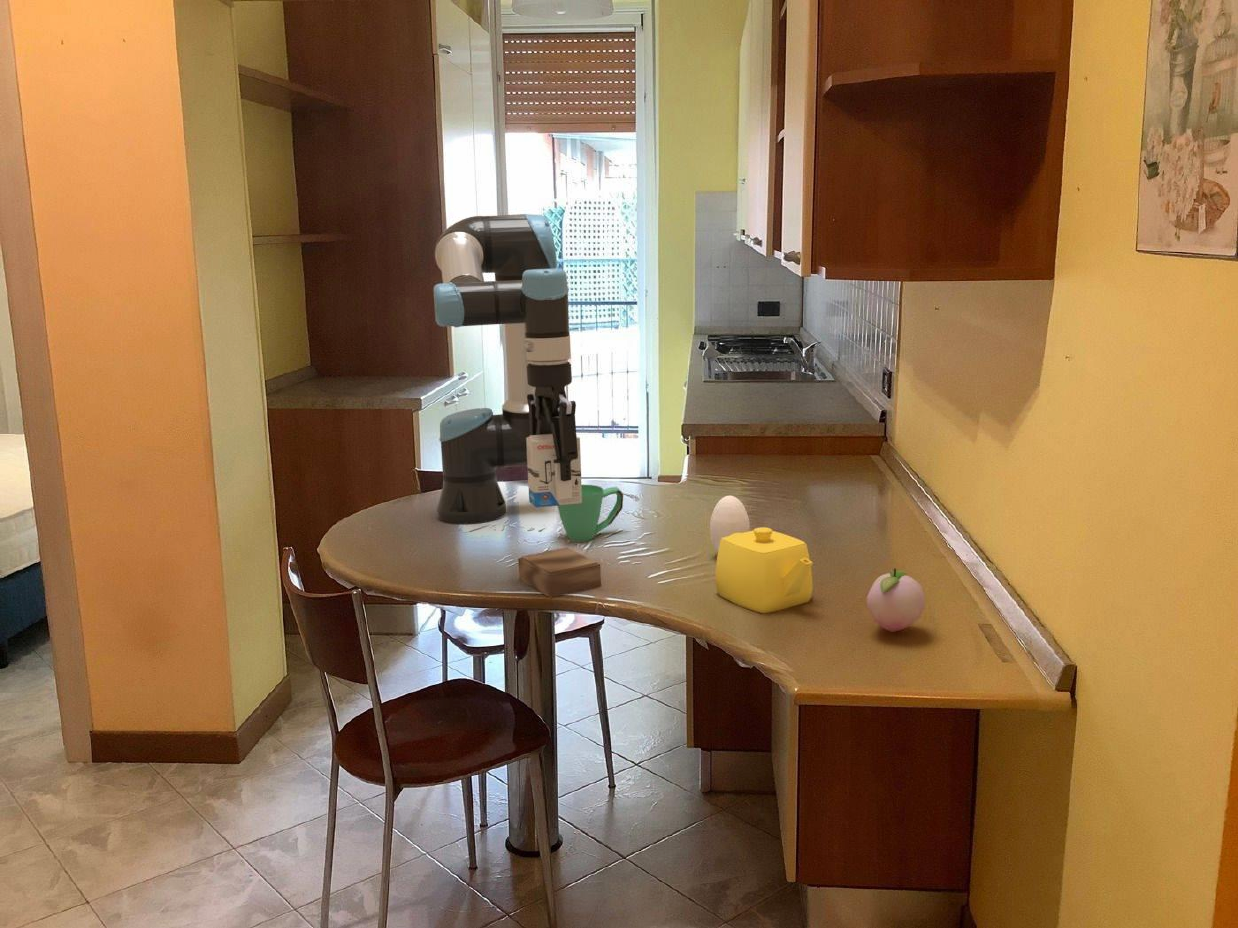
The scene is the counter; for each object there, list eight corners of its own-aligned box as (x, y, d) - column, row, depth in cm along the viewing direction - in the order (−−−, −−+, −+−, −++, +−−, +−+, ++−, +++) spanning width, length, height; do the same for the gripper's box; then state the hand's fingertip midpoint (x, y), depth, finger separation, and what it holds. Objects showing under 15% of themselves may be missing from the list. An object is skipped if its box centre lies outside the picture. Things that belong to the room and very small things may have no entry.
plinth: (519, 579, 186) (518, 556, 185) (568, 568, 191) (567, 546, 190) (550, 597, 176) (548, 573, 175) (601, 585, 181) (600, 562, 180)
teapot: (837, 607, 167) (837, 537, 165) (778, 624, 161) (777, 551, 158) (757, 576, 184) (756, 511, 181) (700, 590, 177) (699, 523, 175)
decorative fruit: (920, 646, 150) (922, 580, 148) (863, 640, 153) (864, 575, 151) (927, 624, 159) (929, 561, 156) (872, 618, 162) (873, 556, 159)
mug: (569, 547, 204) (566, 498, 202) (549, 536, 213) (546, 488, 211) (634, 536, 211) (633, 488, 209) (613, 525, 219) (611, 479, 217)
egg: (702, 556, 196) (701, 496, 193) (729, 548, 200) (729, 489, 198) (730, 565, 190) (729, 503, 188) (758, 556, 195) (758, 495, 192)
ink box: (534, 508, 177) (531, 440, 175) (528, 501, 182) (525, 435, 179) (583, 503, 180) (580, 436, 177) (576, 496, 184) (573, 431, 182)
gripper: (504, 359, 182) (512, 488, 186) (554, 368, 166) (561, 509, 171) (543, 355, 185) (549, 482, 190) (595, 364, 169) (601, 502, 174)
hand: (555, 494), depth 180 cm, fingers closed on ink box, 6 cm apart
